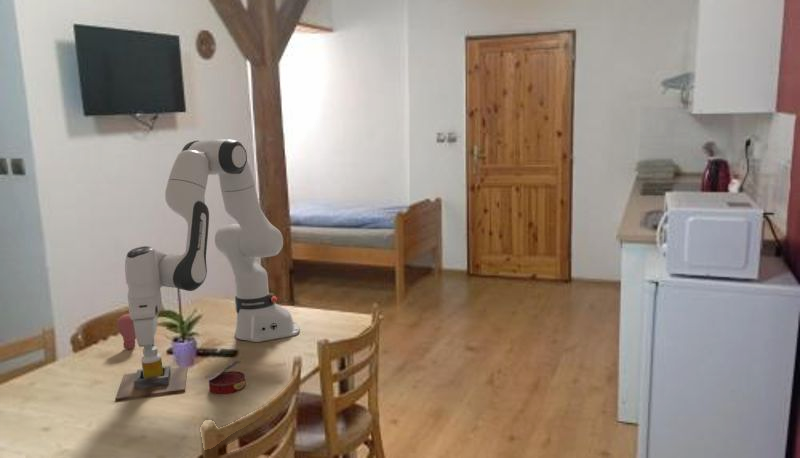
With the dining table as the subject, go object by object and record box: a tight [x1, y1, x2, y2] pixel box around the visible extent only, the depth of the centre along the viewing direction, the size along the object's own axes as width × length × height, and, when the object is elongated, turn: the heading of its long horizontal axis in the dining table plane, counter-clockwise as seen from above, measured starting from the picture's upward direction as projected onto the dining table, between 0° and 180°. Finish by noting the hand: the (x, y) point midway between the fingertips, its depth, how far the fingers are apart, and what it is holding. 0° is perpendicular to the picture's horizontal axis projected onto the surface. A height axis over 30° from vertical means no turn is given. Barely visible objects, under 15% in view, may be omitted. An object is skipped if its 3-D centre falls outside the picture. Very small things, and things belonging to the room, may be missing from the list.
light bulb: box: [116, 313, 137, 350], centre depth 217 cm, size 7×7×12 cm
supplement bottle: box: [140, 345, 164, 378], centre depth 187 cm, size 5×5×10 cm
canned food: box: [208, 360, 246, 396], centre depth 183 cm, size 11×10×10 cm
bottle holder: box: [115, 365, 188, 402], centre depth 188 cm, size 18×18×3 cm
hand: (150, 351), depth 186 cm, fingers open, 5 cm apart
